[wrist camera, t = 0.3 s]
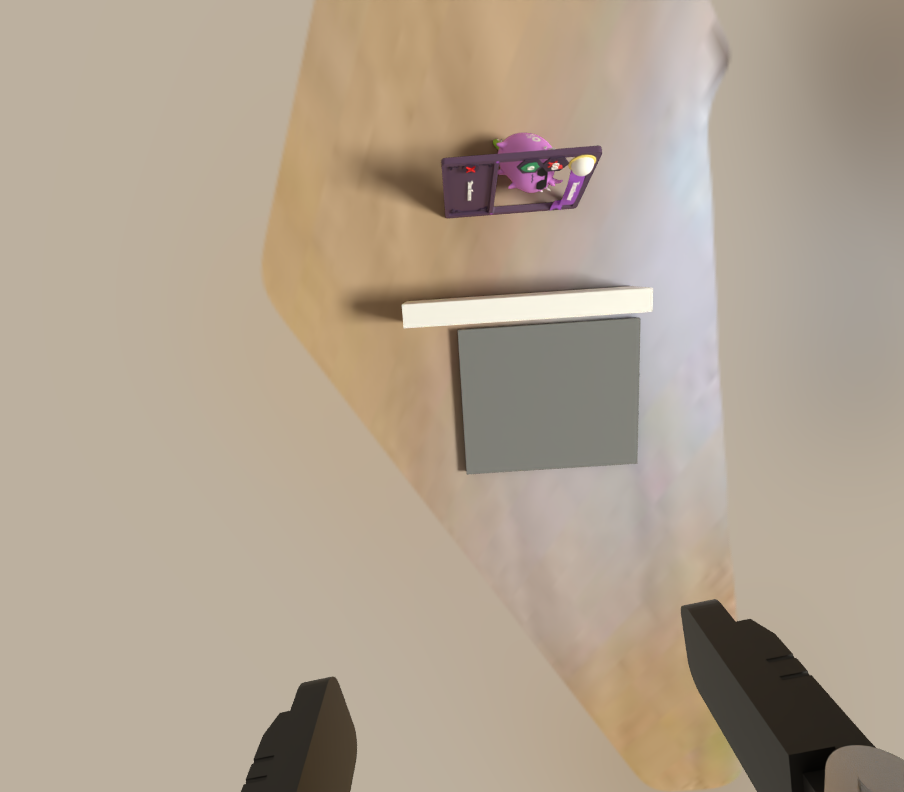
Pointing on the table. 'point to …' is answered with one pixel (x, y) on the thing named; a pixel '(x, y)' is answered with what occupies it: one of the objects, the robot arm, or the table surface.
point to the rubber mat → (550, 395)
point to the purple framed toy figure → (515, 175)
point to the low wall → (527, 306)
